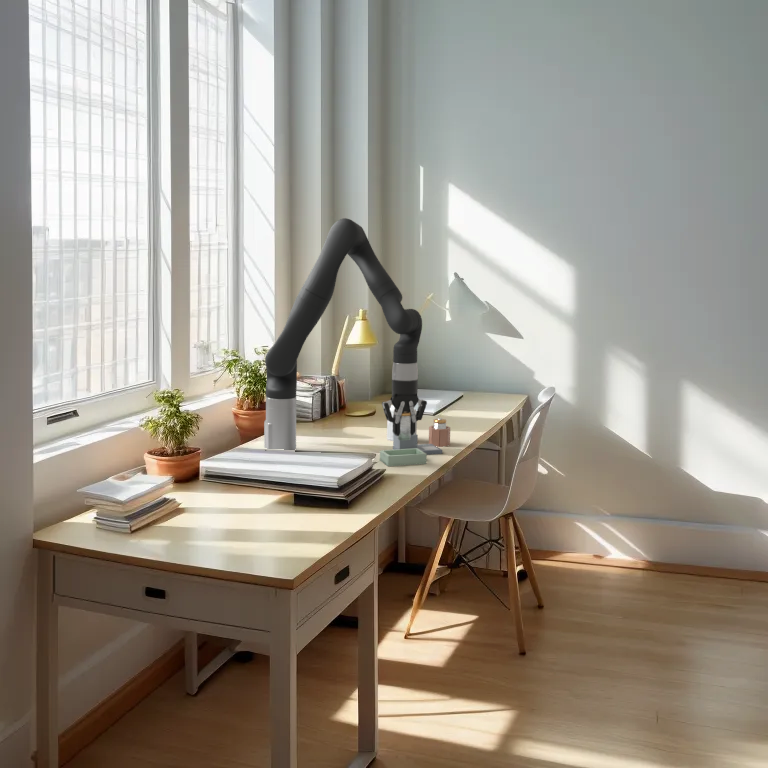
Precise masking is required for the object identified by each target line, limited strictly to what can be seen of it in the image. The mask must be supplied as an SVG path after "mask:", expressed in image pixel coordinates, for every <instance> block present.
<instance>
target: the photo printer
mask: <svg viewBox="0 0 768 768" xmlns="http://www.w3.org/2000/svg"><path fill="white" fill-rule="evenodd" d="M394 409H395V407H394V406H393V405H392V404H391V408H390V411H391V414H392V418H393V415H394V414H393V412H394ZM414 411H415V415H416V412H417V409H416V408H414ZM386 420H387V419H386ZM386 422H387V424H386V440H387V441H390V442H393V434H394V433H393V423H392V422H390V421H388V420H387V421H386ZM417 425H418V421H416V427H415V434H417V433H418V432H417V428H418V427H417Z"/></svg>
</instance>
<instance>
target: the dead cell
mask: <svg viewBox="0 0 768 768" xmlns="http://www.w3.org/2000/svg"><path fill="white" fill-rule="evenodd" d="M433 425H434V428H435V429H446V426H447V419H445V418H442V417H439V418H438V417H437V418H434V419H433Z"/></svg>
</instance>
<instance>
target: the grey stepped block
mask: <svg viewBox="0 0 768 768" xmlns="http://www.w3.org/2000/svg"><path fill="white" fill-rule="evenodd" d="M418 436H419V435H418V434H417V433H416V434H415V433H414V435H411V439H410V440H398V439H397V436H396V435H395V434H393V441H392V442H393V443H392V444H393V445H392V450H396V449H412V448H418V449H419V450H421V451H423V452H424V453H426V454H427V455H429V456H430V455H441V454H443V449H442V448H441V447H436V446H435V445H433V444H429V443H422V444H421V443H420V444H419V443H418V441H419V440H418Z"/></svg>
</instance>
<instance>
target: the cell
mask: <svg viewBox="0 0 768 768" xmlns="http://www.w3.org/2000/svg"><path fill="white" fill-rule="evenodd" d="M397 439H398V440H410V439H411V413H410V412H406V411H405V412H402V414H401V416H400V419H399V436H397Z"/></svg>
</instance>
